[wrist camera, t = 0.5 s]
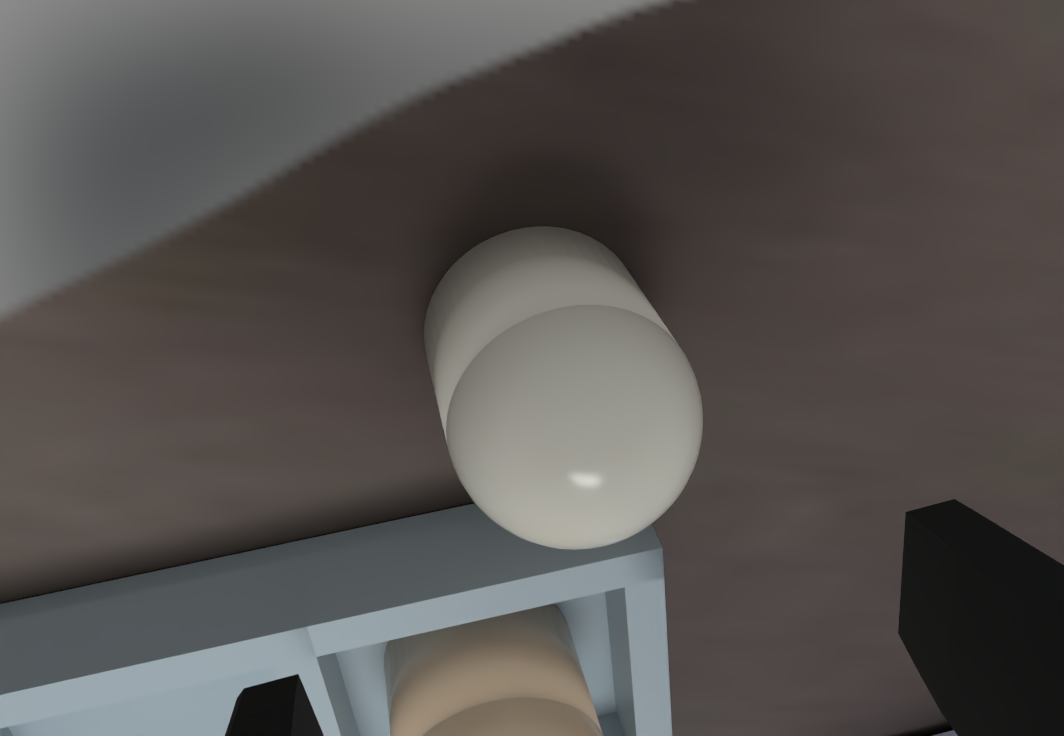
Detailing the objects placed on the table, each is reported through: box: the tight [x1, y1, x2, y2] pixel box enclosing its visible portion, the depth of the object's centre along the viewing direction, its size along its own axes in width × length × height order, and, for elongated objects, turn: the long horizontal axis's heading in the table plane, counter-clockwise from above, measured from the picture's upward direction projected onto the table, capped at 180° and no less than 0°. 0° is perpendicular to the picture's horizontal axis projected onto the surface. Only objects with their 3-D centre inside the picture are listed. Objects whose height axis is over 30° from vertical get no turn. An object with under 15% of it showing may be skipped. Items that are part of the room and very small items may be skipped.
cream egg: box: [424, 226, 703, 550], centre depth 17 cm, size 4×4×5 cm
